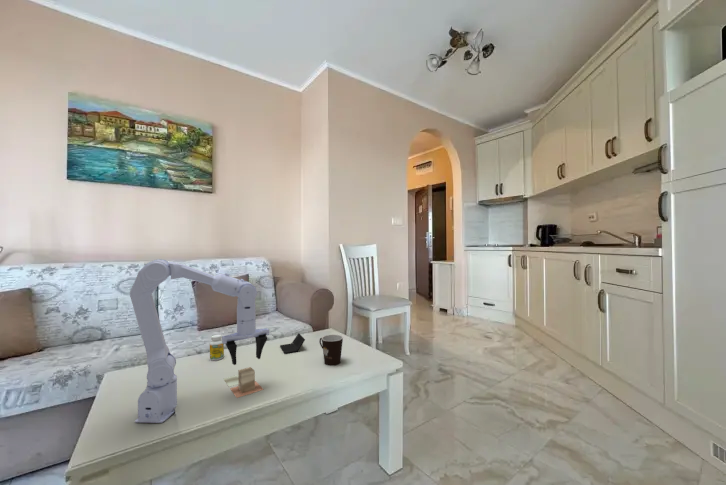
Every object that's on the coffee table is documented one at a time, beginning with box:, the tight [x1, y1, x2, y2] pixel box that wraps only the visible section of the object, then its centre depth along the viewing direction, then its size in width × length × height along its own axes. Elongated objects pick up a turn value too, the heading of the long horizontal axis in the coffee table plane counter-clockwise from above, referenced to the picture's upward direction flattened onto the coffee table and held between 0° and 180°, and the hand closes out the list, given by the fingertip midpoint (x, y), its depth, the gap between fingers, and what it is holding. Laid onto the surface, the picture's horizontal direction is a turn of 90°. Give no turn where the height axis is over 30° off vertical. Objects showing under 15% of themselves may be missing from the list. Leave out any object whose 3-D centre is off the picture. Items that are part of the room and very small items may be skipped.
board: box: [223, 374, 264, 399], centre depth 102 cm, size 18×10×1 cm, turn 38°
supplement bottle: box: [209, 334, 225, 362], centre depth 127 cm, size 5×5×10 cm
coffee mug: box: [319, 334, 344, 367], centre depth 124 cm, size 12×9×10 cm
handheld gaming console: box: [279, 332, 306, 355], centre depth 138 cm, size 12×7×10 cm
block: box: [237, 366, 256, 393], centre depth 98 cm, size 4×4×6 cm
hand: (246, 360), depth 98 cm, fingers open, 7 cm apart
